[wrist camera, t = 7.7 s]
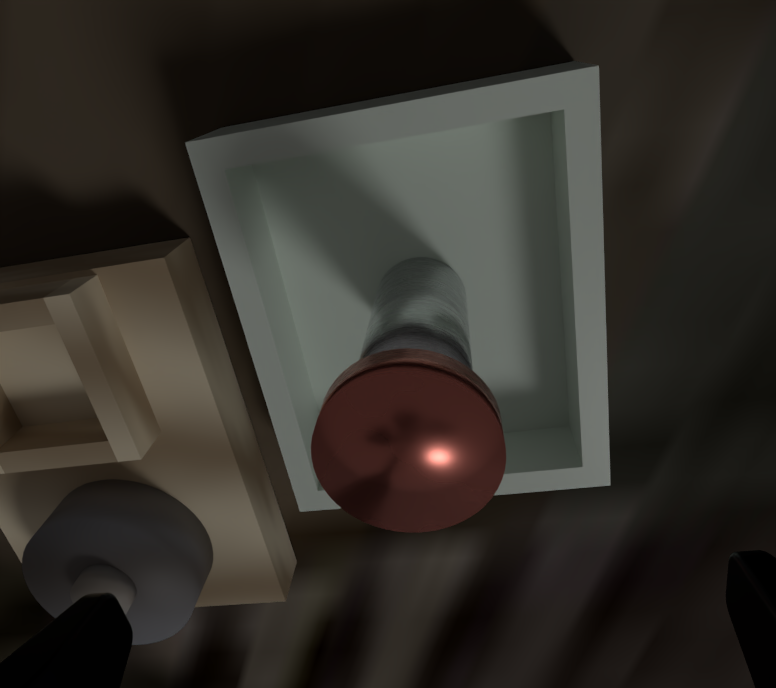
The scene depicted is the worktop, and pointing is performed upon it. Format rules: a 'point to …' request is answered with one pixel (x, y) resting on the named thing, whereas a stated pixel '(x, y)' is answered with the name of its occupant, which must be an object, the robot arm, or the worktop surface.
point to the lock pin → (412, 411)
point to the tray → (427, 253)
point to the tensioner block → (131, 442)
